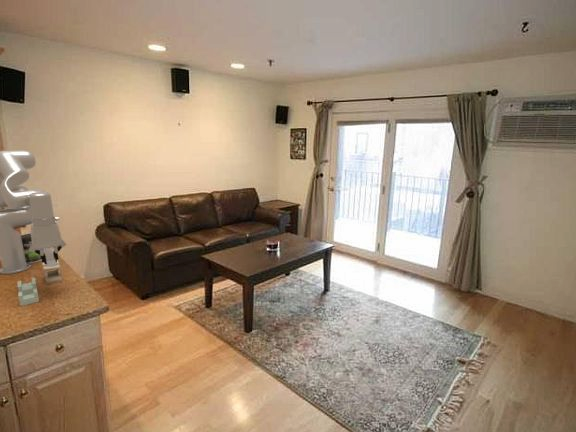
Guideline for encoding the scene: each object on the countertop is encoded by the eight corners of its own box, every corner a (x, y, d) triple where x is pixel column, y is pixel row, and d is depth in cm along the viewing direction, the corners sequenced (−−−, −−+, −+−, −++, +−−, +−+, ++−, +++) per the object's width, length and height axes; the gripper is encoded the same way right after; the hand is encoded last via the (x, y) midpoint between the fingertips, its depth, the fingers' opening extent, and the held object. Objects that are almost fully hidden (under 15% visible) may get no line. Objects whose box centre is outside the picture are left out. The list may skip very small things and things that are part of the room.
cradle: (19, 290, 147) (17, 281, 146) (36, 286, 151) (34, 277, 150) (20, 306, 134) (18, 296, 133) (39, 301, 138) (37, 291, 137)
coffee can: (47, 260, 182) (43, 235, 178) (23, 265, 174) (19, 240, 171) (42, 255, 188) (38, 231, 185) (20, 260, 181) (15, 235, 177)
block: (44, 277, 161) (42, 262, 159) (59, 273, 165) (57, 259, 163) (46, 284, 153) (43, 269, 151) (62, 280, 157) (59, 266, 155)
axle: (43, 251, 149) (42, 245, 148) (51, 250, 151) (50, 244, 150) (47, 267, 138) (46, 261, 137) (56, 265, 140) (55, 259, 139)
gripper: (65, 216, 145) (71, 255, 149) (18, 222, 134) (26, 264, 139) (68, 220, 139) (74, 260, 144) (19, 226, 129) (27, 269, 134)
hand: (50, 262), depth 141 cm, fingers closed on axle, 3 cm apart
